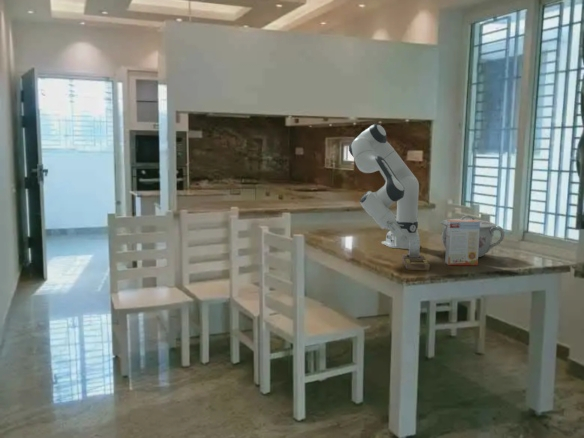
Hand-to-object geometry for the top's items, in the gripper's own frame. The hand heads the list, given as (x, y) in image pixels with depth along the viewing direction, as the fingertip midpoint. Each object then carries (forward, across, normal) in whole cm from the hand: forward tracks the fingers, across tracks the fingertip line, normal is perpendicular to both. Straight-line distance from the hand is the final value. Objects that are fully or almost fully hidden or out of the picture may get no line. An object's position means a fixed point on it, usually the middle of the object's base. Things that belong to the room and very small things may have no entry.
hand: (407, 241), depth 275 cm
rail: (+9, -6, +4) cm, 12 cm away
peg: (+9, 0, +4) cm, 10 cm away
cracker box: (+25, -1, -11) cm, 27 cm away
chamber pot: (+29, +21, -16) cm, 39 cm away
